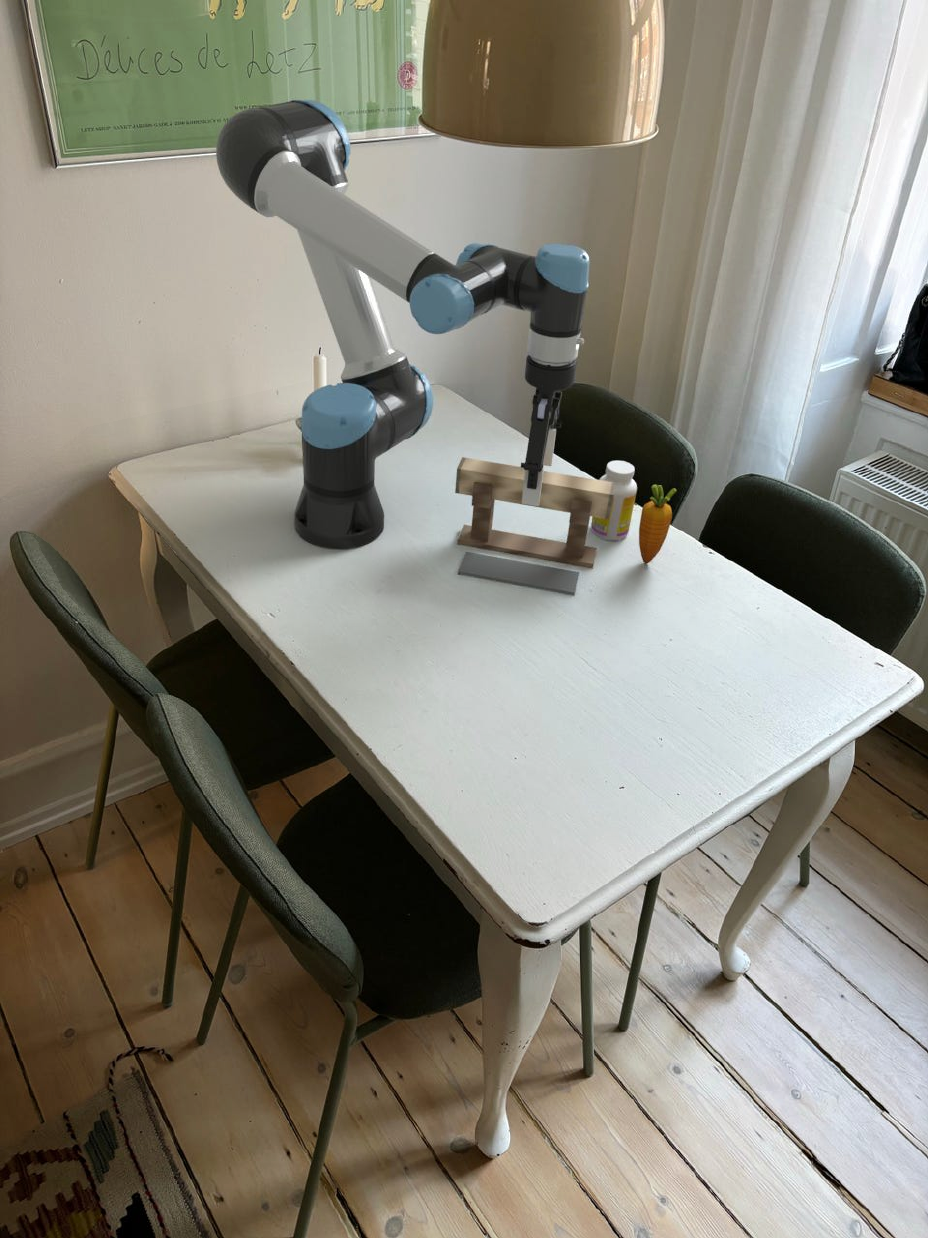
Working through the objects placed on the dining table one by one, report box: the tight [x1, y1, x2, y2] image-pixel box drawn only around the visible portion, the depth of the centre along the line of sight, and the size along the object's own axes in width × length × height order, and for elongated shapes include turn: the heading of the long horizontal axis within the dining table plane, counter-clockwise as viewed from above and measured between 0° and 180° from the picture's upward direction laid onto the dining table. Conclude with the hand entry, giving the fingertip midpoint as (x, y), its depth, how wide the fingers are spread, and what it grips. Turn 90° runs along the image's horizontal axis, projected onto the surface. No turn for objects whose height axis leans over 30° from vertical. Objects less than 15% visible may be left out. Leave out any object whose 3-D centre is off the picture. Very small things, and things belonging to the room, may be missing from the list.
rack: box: [456, 482, 598, 570], centre depth 160 cm, size 23×7×12 cm, turn 78°
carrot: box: [638, 484, 678, 565], centre depth 159 cm, size 5×5×15 cm
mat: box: [457, 551, 580, 596], centre depth 158 cm, size 19×6×1 cm, turn 78°
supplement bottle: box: [590, 460, 638, 542], centre depth 167 cm, size 7×7×13 cm
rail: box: [454, 456, 616, 519], centre depth 157 cm, size 25×4×4 cm, turn 78°
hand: (537, 483), depth 156 cm, fingers open, 13 cm apart
